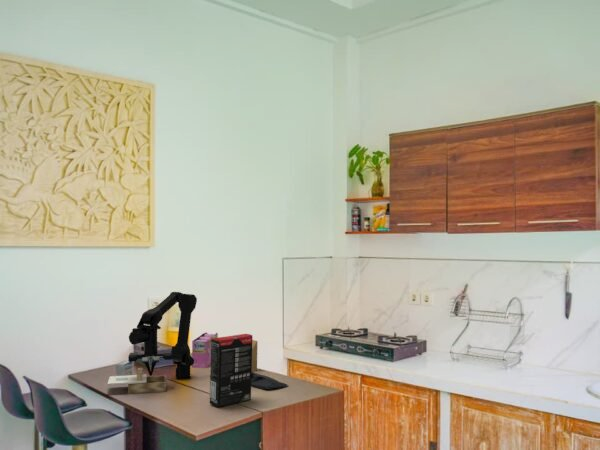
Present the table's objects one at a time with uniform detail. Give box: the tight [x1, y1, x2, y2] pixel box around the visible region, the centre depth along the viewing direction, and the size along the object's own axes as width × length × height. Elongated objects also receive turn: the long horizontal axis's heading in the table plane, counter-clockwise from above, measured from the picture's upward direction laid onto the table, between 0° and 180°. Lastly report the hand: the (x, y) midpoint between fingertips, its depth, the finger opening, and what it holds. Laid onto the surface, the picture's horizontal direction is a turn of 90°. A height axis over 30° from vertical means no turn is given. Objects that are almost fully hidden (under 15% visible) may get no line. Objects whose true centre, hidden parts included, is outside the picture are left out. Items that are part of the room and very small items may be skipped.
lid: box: [107, 367, 148, 386], centre depth 257 cm, size 16×12×4 cm
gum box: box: [191, 332, 219, 369], centre depth 309 cm, size 24×8×14 cm, turn 173°
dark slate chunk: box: [251, 371, 288, 390], centre depth 268 cm, size 15×22×5 cm
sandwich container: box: [252, 339, 258, 373], centre depth 289 cm, size 9×15×15 cm, turn 144°
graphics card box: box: [209, 333, 254, 408], centre depth 240 cm, size 17×7×27 cm, turn 133°
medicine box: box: [115, 359, 134, 376], centre depth 272 cm, size 8×4×9 cm, turn 168°
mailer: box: [127, 375, 167, 395], centre depth 259 cm, size 16×12×4 cm
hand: (150, 375), depth 260 cm, fingers closed
